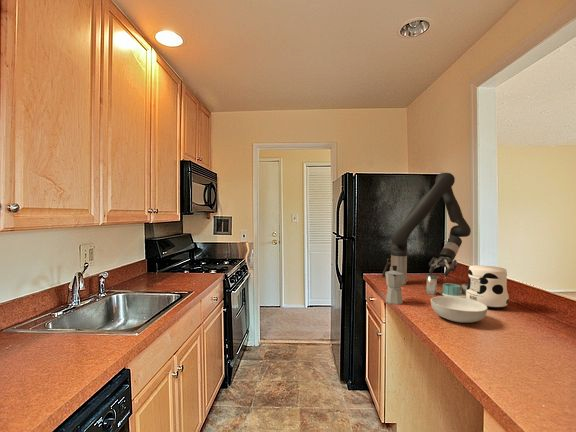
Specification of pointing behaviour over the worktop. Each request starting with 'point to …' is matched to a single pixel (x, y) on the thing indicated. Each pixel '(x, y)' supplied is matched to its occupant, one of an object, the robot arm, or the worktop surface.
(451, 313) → the serving bowl
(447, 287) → the fitting plate
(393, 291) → the coffee maker
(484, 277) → the milk container
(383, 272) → the door stopper
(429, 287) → the salt shaker
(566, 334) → the worktop surface
